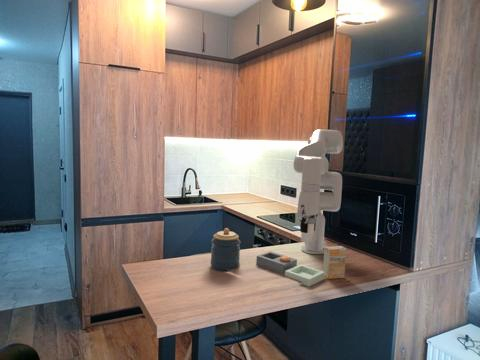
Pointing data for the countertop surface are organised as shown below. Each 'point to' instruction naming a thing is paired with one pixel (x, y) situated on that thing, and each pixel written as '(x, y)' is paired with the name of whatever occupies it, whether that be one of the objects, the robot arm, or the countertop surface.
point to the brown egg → (285, 258)
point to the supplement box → (334, 262)
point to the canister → (225, 250)
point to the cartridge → (309, 235)
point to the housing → (275, 262)
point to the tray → (305, 274)
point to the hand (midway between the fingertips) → (307, 230)
